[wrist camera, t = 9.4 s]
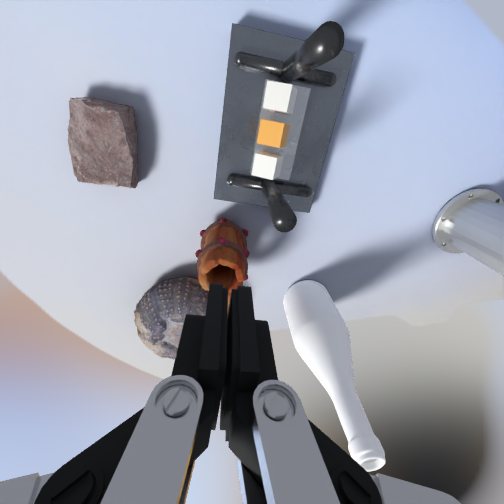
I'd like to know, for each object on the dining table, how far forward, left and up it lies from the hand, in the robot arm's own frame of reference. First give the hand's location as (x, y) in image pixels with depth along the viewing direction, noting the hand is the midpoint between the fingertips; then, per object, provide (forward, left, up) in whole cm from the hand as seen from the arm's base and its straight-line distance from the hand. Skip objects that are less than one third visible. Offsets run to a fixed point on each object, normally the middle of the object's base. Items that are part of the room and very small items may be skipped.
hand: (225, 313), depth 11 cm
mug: (-1, +15, -35) cm, 38 cm away
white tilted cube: (-6, -10, -31) cm, 33 cm away
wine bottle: (-19, +24, -35) cm, 47 cm away
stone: (+18, 0, -36) cm, 40 cm away
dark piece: (-6, -6, -35) cm, 36 cm away
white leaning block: (-6, -2, -31) cm, 32 cm away
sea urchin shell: (+5, +30, -36) cm, 47 cm away
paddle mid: (-6, -6, -31) cm, 32 cm away
